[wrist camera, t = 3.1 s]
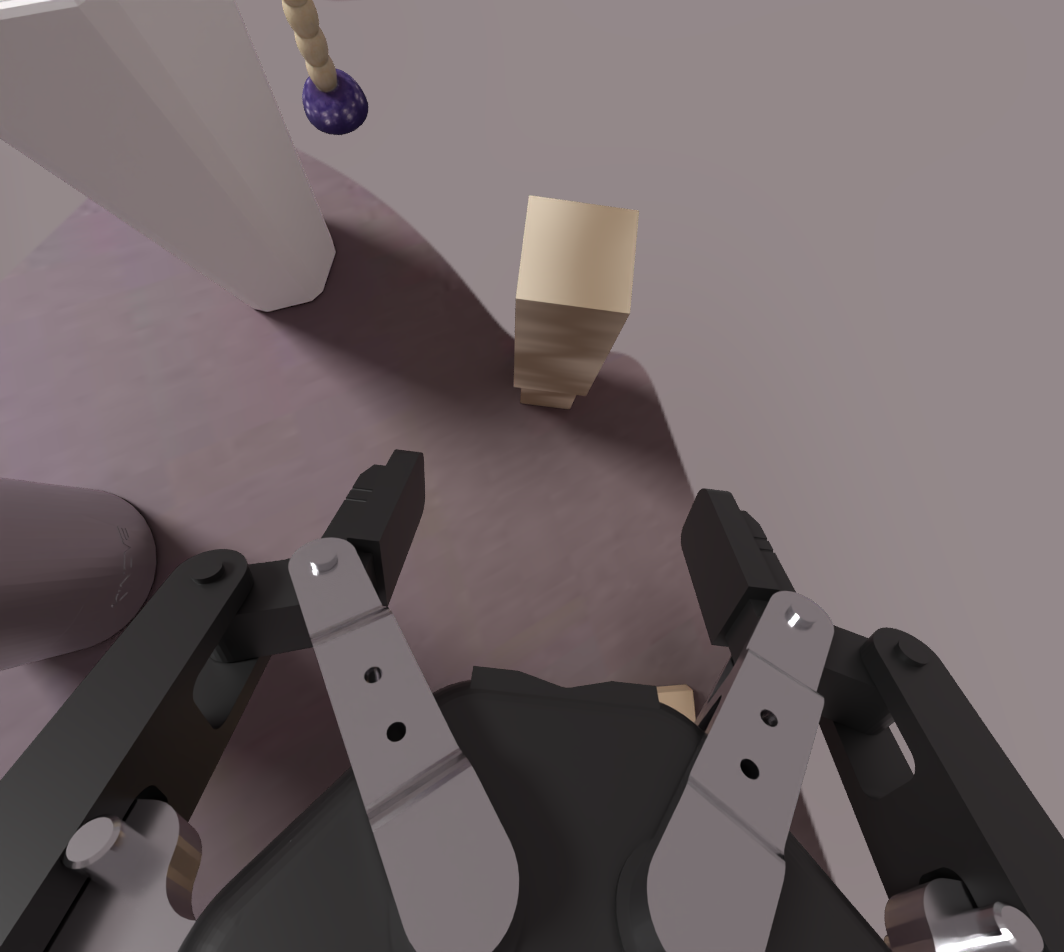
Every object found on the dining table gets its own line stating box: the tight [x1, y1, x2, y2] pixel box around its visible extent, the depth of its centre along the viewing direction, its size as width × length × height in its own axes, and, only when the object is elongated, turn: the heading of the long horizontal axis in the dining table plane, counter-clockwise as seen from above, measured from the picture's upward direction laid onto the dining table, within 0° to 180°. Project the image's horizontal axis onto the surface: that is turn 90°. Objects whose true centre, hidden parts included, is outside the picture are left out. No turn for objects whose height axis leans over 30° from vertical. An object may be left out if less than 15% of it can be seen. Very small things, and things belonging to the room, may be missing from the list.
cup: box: [0, 0, 336, 312], centre depth 20 cm, size 11×10×17 cm
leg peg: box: [514, 195, 639, 409], centre depth 22 cm, size 4×4×13 cm
